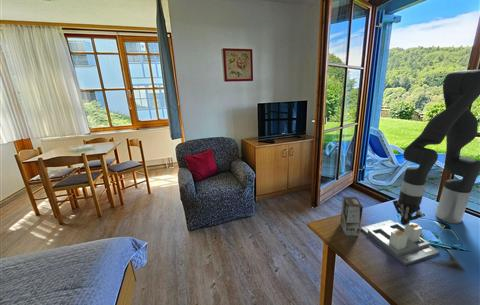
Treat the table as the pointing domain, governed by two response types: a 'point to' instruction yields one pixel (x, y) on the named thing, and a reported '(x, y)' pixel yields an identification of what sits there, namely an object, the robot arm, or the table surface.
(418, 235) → the tab
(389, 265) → the table surface
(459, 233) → the table surface
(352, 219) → the coffee box
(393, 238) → the tab
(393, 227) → the white slotted board
